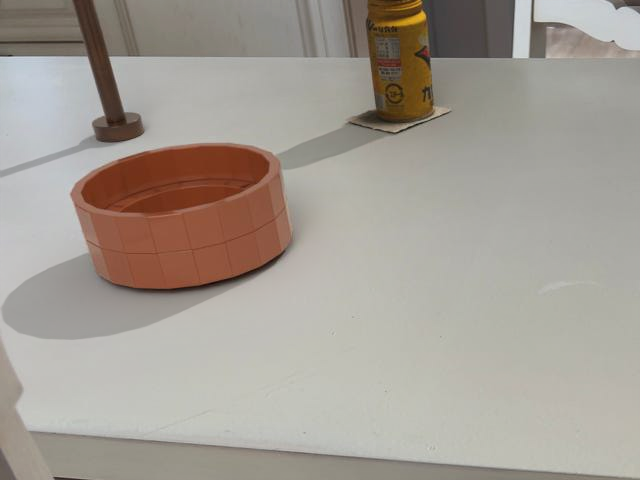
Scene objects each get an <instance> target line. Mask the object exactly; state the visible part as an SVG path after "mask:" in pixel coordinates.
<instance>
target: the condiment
mask: <svg viewBox="0 0 640 480" xmlns="http://www.w3.org/2000/svg"><path fill="white" fill-rule="evenodd" d="M366 8H367V11H368V12H367V15H366V18H365V29H366V31H365V32H366V38H367V46H368V56H369V63H370V72H371V80H372V89H373V96H374V104H375V108H374V109H369V110H367V111H365V112H362V113H361V114H357V115H353V116H349V117H348V118H345V119H344V121H348V122H350V123H351V124H356V125H360V126H363V127H366V128H371V129H372V130H381V131H384V132H391V133H398V132H400V131H401V130H405V129H407V128H409V127H412V126H415V125H416V124H420V123H423V122H427V121H429V120H431V119H433V118H434V119H435V118H436V117H439V116H442V115H444V114H447V113H449V112H451V111H452V108H449V107H443V106H436V105H435V102H434V100H435V99H434V89H433V88H434V87H433V74H432V65H431V54H430V42H429V26H428V21H427V20H428V19H427V15H426V13H425V11H424V10H423V2H422V0H367V3H366Z"/></svg>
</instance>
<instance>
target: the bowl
mask: <svg viewBox="0 0 640 480" xmlns="http://www.w3.org/2000/svg"><path fill="white" fill-rule="evenodd" d="M69 196H70V199H71V203H72V206H73V208H74V212H75V215H76V218H77V221H78V224H79V227H80V230H81V233H82V237H83V239H84V242H85V246H86V249H87V251H88V255H89V257H90V261H91V264H92V266H93V269H94V270H95V273H96V275H97V276H100V277H102V278H103V279H104V280H106V281H108V282H110V283H112V284H115V285H119V286H125V287H128V288H129V287H130V288H134V289H154V290H155V289H158V290H159V289H160V290H161V289H162V290H170V289H171V290H172V289H179V288H188V287H197V286H202V285H206V284H210V283H214V282H215V283H216V282H218V281H224V280H227V279H231V278H235V277H237V276H240V275H243V274H245V273H248V272H250V271H253V270H255V269H258V268H260V267H262V266H263V265H265V264H267V263H268V262H270V261H271V260H273V259H274V258H277V256H279V255H281V254H282V253H283V252H284V251H285V249H286V248H287V247H288V245H289V244H290V243H291V242H292V240H293V230H294V229H293V223H292V218H291V212H290V208H289V207H290V206H289V202H288V201H289V200H288V197H287V191H286V186H285V180H284V174H283V169H282V164H281V160H280V159H279V158H278V157H277V156H276V155H275V154H273V152H271V151H269V150H266V149H264V148H260V147H258V146H254V145H250V144H242V143H236V142H198V143H188V144H179V145H169V146H164V147H160V148H155V149H150V150H145V151H141V152H138V153H134V154H131V155H127V156H125V157H122V158H118V159H115V160H112V161H110V162H107V163H106V164H103V165H102V166H98V167H97V168H94V169H93V170H91V171H90V172H88V173H87V174H86V175H84V176H83V177H81V178H80V179H79V180H78V181H76V182H75V183H74V185H73V187H72V189H71V191H70V193H69Z"/></svg>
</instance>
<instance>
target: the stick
mask: <svg viewBox="0 0 640 480" xmlns="http://www.w3.org/2000/svg"><path fill="white" fill-rule="evenodd" d="M71 4H72V7H73V10H74V14H75V17H76V21H77V25H78V28H79V32H80V35H81V38H82V42H83V46H84V49H85V53H86V55H87V59H88V62H89V66H90V70H91V74H92V76H93V80H94V84H95V87H96V91H97V94H98V97H99V101H100V104H101V108H102V111H103V114H104V115H102V116H99V117H97V118H95V119H93V120H92V122H91V127H92V129H93V133H94V136H95V139H96V140H97V141H99V142H104V143H116V142H124V141H128V140H132V139H135V138H138V137H139V136H141V135H143V134H144V132H145V127H144V123H143V119H142V116H141V115H140V113H137V112H133V111H132V112H131V111H125V109H124V106H123V102H122V98H121V95H120V91H119V88H118V85H117V84H118V83H117V81H116V76H115V72H114V70H113V66H112V62H111V59H110V56H109V51H108V48H107V44H106V41H105V37H104V34H103V30H102V26H101V22H100V18H99V14H98V12H97V9H96V4H95V1H94V0H71Z"/></svg>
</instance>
